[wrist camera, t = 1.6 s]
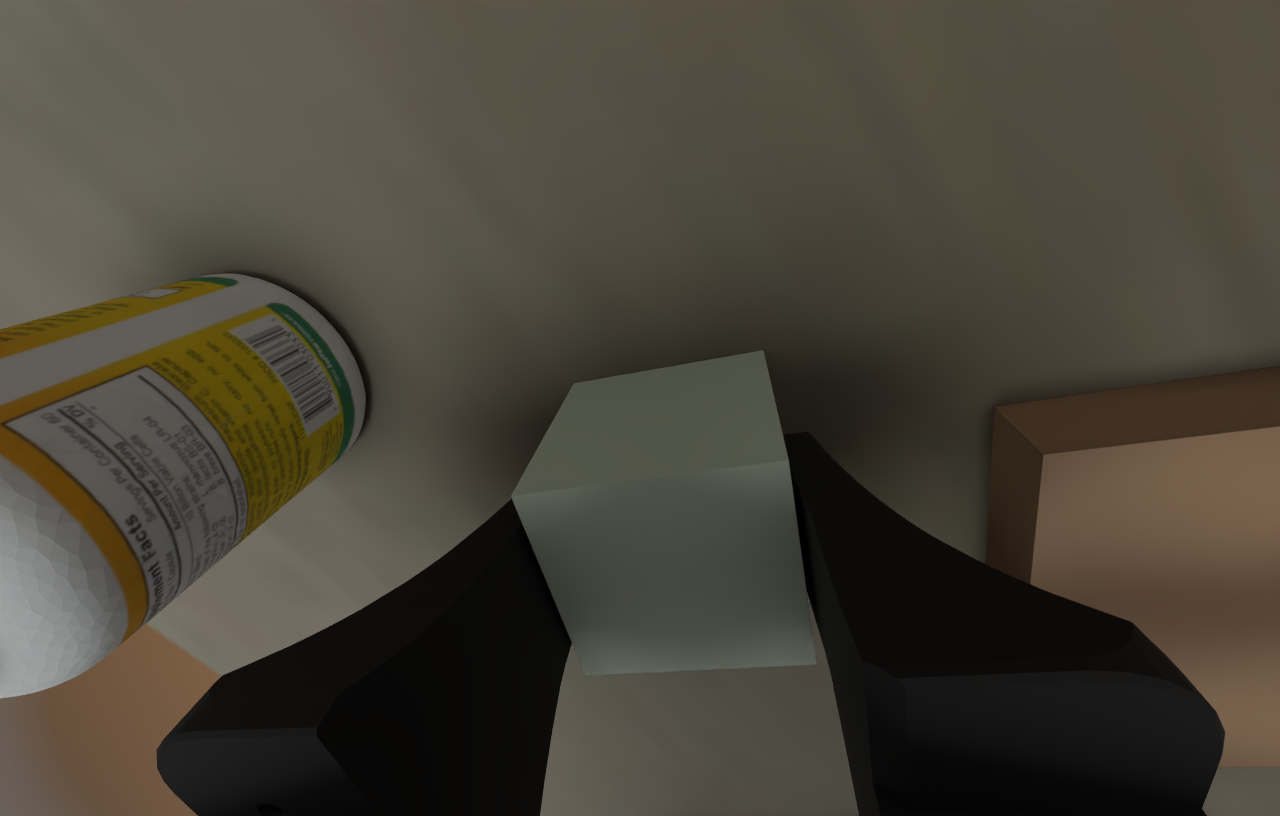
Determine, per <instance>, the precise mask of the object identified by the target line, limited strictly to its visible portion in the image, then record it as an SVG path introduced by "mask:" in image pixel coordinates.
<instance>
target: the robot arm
mask: <svg viewBox="0 0 1280 816" xmlns="http://www.w3.org/2000/svg"><path fill="white" fill-rule="evenodd" d="M783 438H784V442H785V446H786V451H787V455H788V459H789V466H790V474H791V481H792V488H793V495H794V503H795V510H796V517H797V525H798V532H799V539H800V546H801V554H802V561H803V568H804V576H805V583H806V590H807V593H808V596H809V600H810V603H811V606H812V609H813V613H814V616H815V619H816V623H817V626H818V629H819V632H820V636H821V639H822V642H823V646H824V649H825V653H826V657H827V660H828V664H829V668H830V672H831V677H832V682H833V687H834V692H835V697H836V702H837V707H838V711H839V716H840V721H841V726H842V731H843V736H844V741H845V746H846V751H847V756H848V761H849V766H850V771H851V776H852V781H853V786H854V791H855V796H856V801H857V806H858V812H859V816H1207V815H1206V814H1205V812H1204V811H1203V810H1202V807H1203V804H1204V801H1205V799H1206V796H1207V794H1208V791H1209V788H1210V786H1211V783H1212V781H1213V778H1214V776H1215V773H1216V770H1217V768H1218V765H1219V763H1220V760H1221V757H1222V754H1223V747H1224V739H1225V730H1224V728H1223V726H1222V723H1221V721H1220V719H1219V716H1218V714H1217V712H1216V710H1215V709H1214V708H1213V707H1212V706H1211V705H1210V704H1209V702H1208V701H1207V700H1206V699H1205V698H1204V697H1203V696H1202V694H1201V693H1200V692H1199V691H1198V690H1197V689H1196V687H1195V686H1194V685H1193V684H1192V683H1191V682H1190V681H1189V679H1188V678H1187V677H1186V676H1185V675H1184V674H1183V673H1182V672H1181V670H1180V669H1179V668H1178V667H1177V666H1176V665H1175V664H1174V663H1173V662H1172V661H1171V660H1170V659H1169V658H1168V656H1167V655H1166V654H1165V653H1163V652H1162V651H1161V650H1160V649H1159V648H1158V647H1157V646H1156V645H1155V644H1154V643H1153V642H1152V641H1151V640H1150V639H1149V638H1148V637H1147V636H1145V635H1144V634H1143V633H1142V631H1141V630H1140V629H1139V628H1138V627H1137V626H1136V625H1135V624H1134V623H1132V622H1130V621H1128V620H1125V619H1122V618H1119V617H1116V616H1114V615H1111V614H1108V613H1105V612H1103V611H1100V610H1097V609H1094V608H1092V607H1089V606H1086V605H1083V604H1080V603H1078V602H1075V601H1072V600H1069V599H1067V598H1064V597H1061V596H1058V595H1055V594H1053V593H1050V592H1048V591H1045V590H1043V589H1040V588H1038V587H1036V586H1033V585H1031V584H1029V583H1026V582H1024V581H1022V580H1019V579H1017V578H1015V577H1012V576H1010V575H1008V574H1005V573H1003V572H1001V571H999V570H997V569H995V568H993V567H990V566H988V565H986V564H984V563H982V562H980V561H978V560H976V559H974V558H972V557H970V556H968V555H966V554H964V553H962V552H961V551H959V550H957V549H955V548H953V547H951V546H949V545H947V544H945V543H944V542H942V541H940V540H938V539H937V538H935V537H933V536H931V535H930V534H928V533H926V532H925V531H923V530H921V529H920V528H918V527H917V526H915V525H914V524H912V523H911V522H909V521H907V520H906V519H905V518H903V517H902V516H900V515H899V514H898V513H896V512H895V511H893V510H892V509H891V508H889V507H888V506H887V505H885V504H884V503H883V502H882V501H880V500H879V499H878V498H876V497H875V496H874V495H873V494H871V493H870V492H869V491H868V490H867V489H865V488H864V487H863V486H862V485H861V484H860V483H858V482H857V481H856V480H855V479H854V478H853V477H852V476H851V475H850V474H848V473H847V472H846V471H845V470H844V469H843V468H842V467H841V466H840V465H839V464H838V463H837V462H836V461H835V460H834V459H833V458H832V457H831V456H830V455H829V454H828V453H827V452H826V451H825V450H824V449H823V447H822V446H821V445H820V444H819V443H818V442H817V440H816V439H815V438H814V437H813V436H812V435H811V434H810V433H808V432H802V433H795V434H788V435H783ZM571 644H572V642H571V639H570V637H569V634H568V632H567V630H566V627H565V625H564V622H563V620H562V618H561V615H560V613H559V610H558V608H557V606H556V603H555V601H554V599H553V596H552V594H551V591H550V589H549V587H548V584H547V582H546V579H545V577H544V575H543V572H542V570H541V567H540V565H539V563H538V560H537V558H536V555H535V553H534V551H533V548H532V546H531V543H530V541H529V539H528V536H527V534H526V531H525V529H524V527H523V524H522V522H521V519H520V517H519V515H518V512H517V510H516V507H515V505H514V503H513V500H512V499H511V500H510V501H509V502H508V503H506V504H505V505H504V506H503V507H502V508H501V509H500V510H499V511H497V512H496V513H495V514H494V515H493V516H492V517H491V518H490V519H488V520H487V521H486V522H485V523H484V524H482V525H481V526H480V527H479V528H478V529H476V530H475V531H474V532H473V533H471V534H470V535H469V536H468V537H467V538H465V539H464V540H463V541H462V542H460V543H459V544H458V545H457V546H456V547H454V548H453V549H452V550H451V551H449V552H448V553H447V554H445V555H444V556H443V557H441V558H440V559H439V560H437V561H436V562H434V563H433V564H432V565H430V566H429V567H427V568H426V569H424V570H423V571H422V572H420V573H419V574H417V575H416V576H414V577H413V578H411V579H410V580H408V581H407V582H405V583H404V584H402V585H401V586H399V587H397V588H396V589H394V590H392V591H391V592H389V593H387V594H386V595H384V596H382V597H381V598H379V599H377V600H376V601H374V602H373V603H371V604H369V605H368V606H366V607H364V608H363V609H361V610H359V611H357V612H356V613H354V614H352V615H350V616H348V617H346V618H344V619H343V620H341V621H339V622H337V623H335V624H333V625H331V626H329V627H328V628H326V629H324V630H322V631H320V632H318V633H316V634H314V635H312V636H310V637H308V638H306V639H304V640H302V641H299V642H297V643H295V644H293V645H291V646H289V647H287V648H284V649H282V650H280V651H278V652H275V653H273V654H271V655H269V656H266V657H264V658H262V659H260V660H257V661H255V662H253V663H251V664H248V665H246V666H244V667H242V668H239V669H237V670H234V671H232V672H230V673H227V674H225V675H223V676H222V677H221V678H219V680H217V681H216V682H215V683H214V684H213V686H212V687H211V688H210V689H209V690H208V691H207V692H206V693H205V694H204V696H203V697H202V698H201V699H200V700H199V701H198V702H197V703H196V704H195V705H194V707H193V708H192V709H191V710H190V711H189V712H188V713H187V714H186V715H185V716H184V717H183V719H182V720H181V721H180V722H179V723H178V724H177V725H176V726H175V728H173V730H172V731H171V732H170V733H169V734H168V735H167V736H166V737H165V738H164V740H163V741H162V742H161V744H160V746H159V747H158V749H157V769H158V771H159V773H160V775H161V777H162V779H163V780H164V782H165V783H166V784H167V785H168V787H169V788H170V789H171V790H172V791H173V792H174V793H175V794H176V795H177V796H178V797H179V798H180V799H181V800H182V801H183V802H184V803H185V804H186V805H187V806H188V807H190V809H192V810H193V811H194V812H195V813H196V814H197V815H198V816H540V811H541V803H542V796H543V788H544V780H545V774H546V767H547V761H548V755H549V748H550V742H551V735H552V729H553V724H554V718H555V712H556V707H557V701H558V696H559V690H560V685H561V681H562V677H563V672H564V668H565V664H566V661H567V657H568V654H569V650H570V647H571Z"/></svg>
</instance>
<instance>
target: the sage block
mask: <svg viewBox="0 0 1280 816" xmlns="http://www.w3.org/2000/svg"><path fill="white" fill-rule="evenodd" d="M511 498H512V500H513V503H514V505H515V507H516V510H517V512H518V515H519V517H520V519H521V522H522V524H523V527H524V529H525V531H526V534H527V536H528V539H529V541H530V543H531V546H532V548H533V551H534V553H535V555H536V558H537V560H538V563H539V565H540V567H541V570H542V572H543V575H544V577H545V579H546V582H547V584H548V587H549V589H550V591H551V594H552V596H553V599H554V601H555V603H556V606H557V608H558V610H559V613H560V615H561V618H562V620H563V622H564V625H565V627H566V630H567V632H568V634H569V637H570V639H571V642H572V644H573V646H574V649H575V651H576V654H577V656H578V658H579V661H580V663H581V666H582V668H583V670H584V673H585V675H586V676H590V675H611V674H632V673H653V672H674V671H694V670H715V669H736V668H757V667H777V666H798V665H817V663H816V656H815V648H814V641H813V634H812V627H811V619H810V612H809V605H808V597H807V590H806V583H805V576H804V568H803V561H802V554H801V546H800V539H799V532H798V525H797V517H796V510H795V503H794V495H793V488H792V481H791V474H790V466H789V459H788V455H787V451H786V446H785V442H784V438H783V433H782V429H781V425H780V420H779V416H778V411H777V407H776V403H775V398H774V394H773V390H772V385H771V381H770V377H769V372H768V368H767V364H766V359H765V355H764V350H762V351H756V352H750V353H744V354H739V355H733V356H727V357H722V358H716V359H710V360H704V361H699V362H693V363H687V364H681V365H676V366H670V367H664V368H658V369H653V370H647V371H641V372H636V373H630V374H624V375H618V376H613V377H607V378H601V379H595V380H590V381H584V382H578V383H574V384H573V386H572V387H571V389H570V391H569V393H568V395H567V396H566V398H565V400H564V402H563V404H562V405H561V407H560V409H559V411H558V413H557V414H556V416H555V418H554V420H553V421H552V423H551V425H550V427H549V429H548V430H547V432H546V434H545V436H544V438H543V439H542V441H541V443H540V445H539V446H538V448H537V450H536V452H535V454H534V455H533V457H532V459H531V461H530V463H529V464H528V466H527V468H526V470H525V472H524V473H523V475H522V477H521V479H520V480H519V482H518V484H517V486H516V488H515V489H514V491H513V493H512V495H511Z"/></svg>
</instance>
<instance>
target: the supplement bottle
mask: <svg viewBox="0 0 1280 816" xmlns="http://www.w3.org/2000/svg"><path fill="white" fill-rule="evenodd" d="M365 403H366V394H365V389H364V384H363V380H362V377H361V374H360V371H359V368H358V365H357V363H356V361H355V358H354V356H353V355H352V353H351V351H350V349H349V348H348V346H347V344H346V343H345V341H344V340H343V338H342V337H341V336H340V334H339V333H338V332H337V331H336V330H335V328H334V327H333V326H332V325H331V324H330V323H329V322H328V321H327V320H326V319H325V318H324V317H323V316H322V315H321V314H320V313H319V312H318V311H317V310H316V309H314V308H313V307H312V306H310V305H309V304H308V303H307V302H305V301H304V300H302V299H301V298H299V297H298V296H296V295H294V294H293V293H291V292H289V291H287V290H285V289H283V288H281V287H279V286H277V285H275V284H272V283H270V282H267V281H264V280H261V279H258V278H253V277H249V276H246V275H242V274H230V273H228V274H212V275H205V276H200V277H197V278H193V279H189V280H184V281H180V282H176V283H173V284H169V285H165V286H162V287H158V288H154V289H150V290H147V291H143V292H139V293H135V294H131V295H128V296H124V297H120V298H116V299H113V300H109V301H105V302H102V303H98V304H95V305H91V306H88V307H84V308H80V309H76V310H72V311H69V312H65V313H61V314H57V315H53V316H49V317H45V318H41V319H37V320H33V321H30V322H26V323H22V324H19V325H15V326H12V327H8V328H4V329H0V698H6V697H14V696H19V695H24V694H30V693H34V692H37V691H41V690H44V689H47V688H50V687H53V686H56V685H58V684H60V683H63V682H65V681H67V680H70V679H72V678H74V677H76V676H78V675H80V674H81V673H83V672H85V671H86V670H88V669H89V668H91V667H93V666H94V665H95V664H97V663H98V662H99V661H101V660H102V659H103V658H105V657H106V656H107V655H109V654H110V653H111V652H112V651H113V650H114V649H116V648H117V647H118V646H119V645H120V644H122V643H123V642H124V641H125V640H126V639H128V638H129V637H130V636H131V635H132V634H134V633H135V632H136V631H137V630H138V629H139V628H141V627H142V626H143V625H144V624H145V623H147V622H148V621H149V620H151V619H152V618H153V617H154V616H155V615H157V614H158V613H159V612H160V611H161V610H162V609H163V608H165V607H166V606H167V605H168V604H169V603H170V602H171V601H173V600H174V599H175V598H176V597H177V596H178V595H179V594H181V593H182V592H183V591H184V590H186V589H187V588H188V587H189V586H190V585H192V584H193V583H194V582H195V581H196V580H197V579H198V578H200V577H201V576H202V575H203V574H205V573H206V572H207V571H208V570H209V569H210V568H211V567H213V566H214V565H215V564H216V563H217V562H218V561H219V560H221V559H222V558H223V557H224V556H225V555H226V554H227V553H229V552H230V551H231V550H232V549H233V548H234V547H235V546H237V545H238V544H239V543H240V542H241V541H242V540H244V539H245V538H246V537H247V536H248V535H249V534H251V533H252V532H253V531H254V530H255V529H256V528H258V527H259V526H260V525H261V524H262V523H264V522H265V521H266V520H267V519H268V518H269V517H271V516H272V515H273V514H274V513H275V512H277V511H278V510H279V509H280V508H281V507H282V506H284V505H285V504H286V503H287V502H288V501H289V500H291V499H292V498H293V497H294V496H295V495H296V494H298V493H299V492H300V491H301V490H302V489H304V488H305V487H306V486H307V485H308V484H310V483H311V482H312V481H313V480H314V479H315V478H317V477H318V476H319V475H320V474H321V473H323V472H324V471H325V470H326V469H327V468H328V467H330V466H331V465H332V464H333V463H334V462H336V461H337V460H338V459H339V458H340V457H341V456H342V455H343V454H344V453H345V452H346V451H348V450H349V448H350V447H351V446H352V445H353V443H354V442H355V440H356V439H357V437H358V435H359V433H360V430H361V427H362V424H363V420H364V413H365Z"/></svg>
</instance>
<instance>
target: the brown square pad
mask: <svg viewBox="0 0 1280 816" xmlns="http://www.w3.org/2000/svg"><path fill="white" fill-rule="evenodd" d="M986 565H988V566H990V567H993V568H995V569H997V570H999V571H1001V572H1003V573H1005V574H1008V575H1010V576H1012V577H1015V578H1017V579H1019V580H1022V581H1024V582H1026V583H1029V584H1031V585H1033V586H1036V587H1038V588H1040V589H1043V590H1045V591H1048V592H1050V593H1053V594H1055V595H1058V596H1061V597H1064V598H1067V599H1069V600H1072V601H1075V602H1078V603H1080V604H1083V605H1086V606H1089V607H1092V608H1094V609H1097V610H1100V611H1103V612H1105V613H1108V614H1111V615H1114V616H1116V617H1119V618H1122V619H1125V620H1128V621H1130V622H1132V623H1134V624H1135V625H1136V626H1137V627H1138V628H1139V629H1140V630H1141V631H1142V633H1143V634H1144V635H1145V636H1147V637H1148V638H1149V639H1150V640H1151V641H1152V642H1153V643H1154V644H1155V645H1156V646H1157V647H1158V648H1159V649H1160V650H1161V651H1162V652H1163V653H1165V654H1166V655H1167V656H1168V658H1169V659H1170V660H1171V661H1172V662H1173V663H1174V664H1175V665H1176V666H1177V667H1178V668H1179V669H1180V670H1181V672H1182V673H1183V674H1184V675H1185V676H1186V677H1187V678H1188V679H1189V681H1190V682H1191V683H1192V684H1193V685H1194V686H1195V687H1196V689H1197V690H1198V691H1199V692H1200V693H1201V694H1202V696H1203V697H1204V698H1205V699H1206V700H1207V701H1208V702H1209V704H1210V705H1211V706H1212V707H1213V708H1214V709H1215V710H1216V712H1217V714H1218V716H1219V719H1220V721H1221V723H1222V726H1223V728H1224V730H1225V739H1224V747H1223V754H1222V757H1221V760H1220V763H1219V765H1218V767H1280V366H1277V367H1270V368H1263V369H1256V370H1249V371H1242V372H1235V373H1228V374H1221V375H1213V376H1206V377H1199V378H1192V379H1185V380H1178V381H1171V382H1164V383H1157V384H1150V385H1143V386H1136V387H1128V388H1121V389H1114V390H1107V391H1100V392H1093V393H1086V394H1079V395H1072V396H1065V397H1058V398H1051V399H1043V400H1036V401H1029V402H1022V403H1015V404H1008V405H1001V406H994V418H993V436H992V455H991V474H990V493H989V511H988V530H987V549H986Z"/></svg>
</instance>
